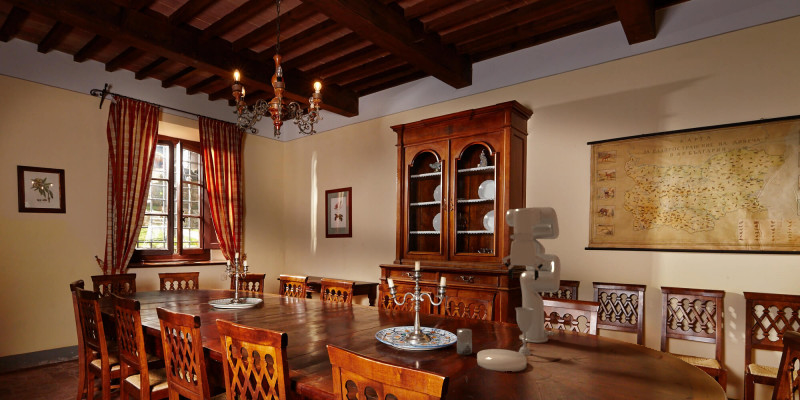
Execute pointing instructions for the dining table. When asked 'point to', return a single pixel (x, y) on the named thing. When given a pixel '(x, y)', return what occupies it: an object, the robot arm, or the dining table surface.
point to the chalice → (524, 326)
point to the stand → (501, 360)
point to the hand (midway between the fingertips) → (523, 279)
